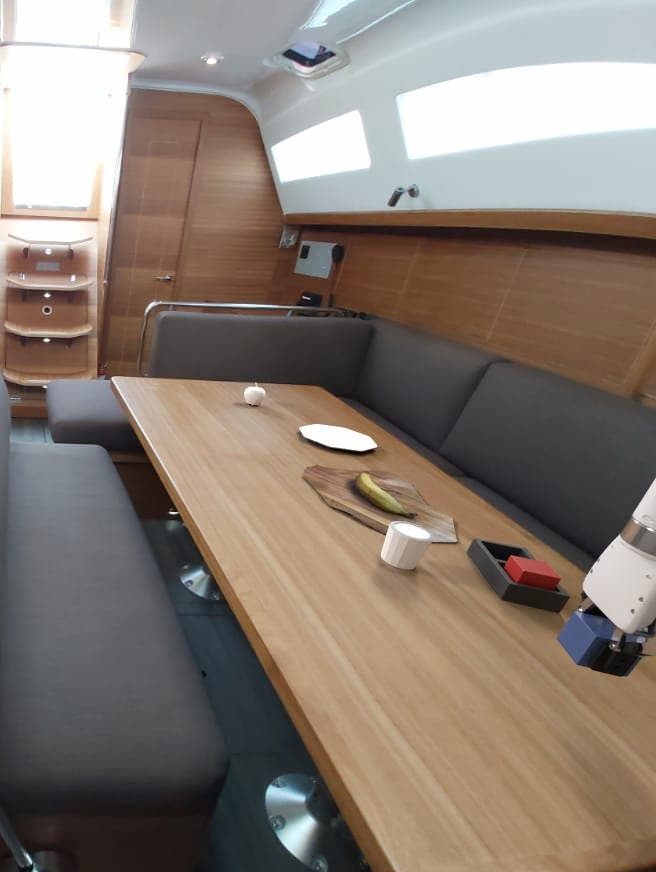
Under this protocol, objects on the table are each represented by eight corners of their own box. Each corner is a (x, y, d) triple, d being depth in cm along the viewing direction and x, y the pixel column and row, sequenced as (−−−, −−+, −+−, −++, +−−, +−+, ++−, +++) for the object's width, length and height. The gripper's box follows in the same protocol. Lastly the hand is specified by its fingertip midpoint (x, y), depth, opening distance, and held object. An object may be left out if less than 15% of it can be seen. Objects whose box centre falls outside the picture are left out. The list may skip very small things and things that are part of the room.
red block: (532, 584, 90) (545, 562, 87) (546, 601, 85) (561, 578, 83) (497, 577, 91) (510, 554, 89) (510, 593, 87) (524, 570, 85)
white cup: (425, 575, 92) (440, 544, 89) (383, 566, 94) (396, 536, 91) (412, 554, 98) (426, 524, 95) (372, 547, 100) (384, 517, 97)
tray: (516, 562, 97) (525, 547, 95) (559, 613, 84) (570, 596, 82) (466, 552, 100) (474, 537, 98) (500, 599, 87) (509, 583, 85)
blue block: (603, 649, 67) (623, 621, 65) (627, 677, 63) (649, 648, 61) (556, 638, 69) (573, 611, 67) (576, 665, 65) (596, 636, 63)
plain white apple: (244, 399, 186) (249, 379, 183) (264, 403, 183) (270, 382, 179) (240, 404, 181) (245, 383, 178) (260, 408, 178) (266, 387, 174)
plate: (382, 458, 141) (384, 454, 140) (306, 447, 146) (307, 443, 145) (362, 434, 158) (364, 430, 157) (294, 425, 163) (296, 421, 162)
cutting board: (289, 464, 135) (293, 451, 133) (395, 472, 132) (401, 459, 131) (352, 535, 104) (359, 519, 102) (493, 548, 101) (502, 533, 99)
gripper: (784, 595, 50) (677, 718, 58) (662, 513, 64) (590, 621, 72) (681, 576, 52) (592, 696, 60) (586, 502, 67) (524, 607, 74)
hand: (592, 654), depth 66 cm, fingers closed on blue block, 5 cm apart
